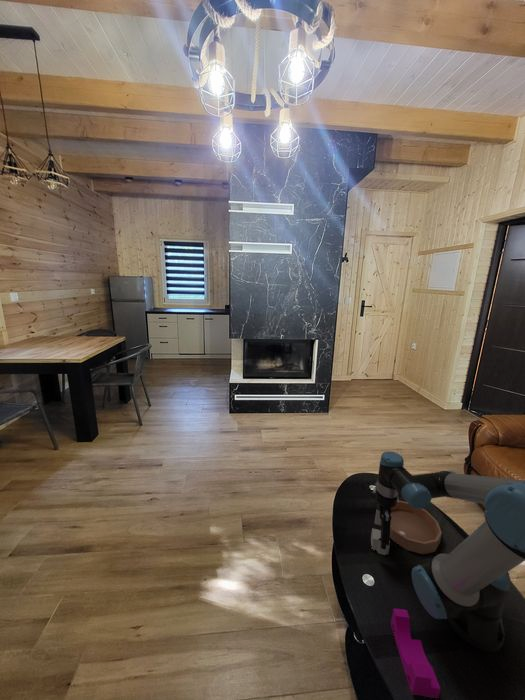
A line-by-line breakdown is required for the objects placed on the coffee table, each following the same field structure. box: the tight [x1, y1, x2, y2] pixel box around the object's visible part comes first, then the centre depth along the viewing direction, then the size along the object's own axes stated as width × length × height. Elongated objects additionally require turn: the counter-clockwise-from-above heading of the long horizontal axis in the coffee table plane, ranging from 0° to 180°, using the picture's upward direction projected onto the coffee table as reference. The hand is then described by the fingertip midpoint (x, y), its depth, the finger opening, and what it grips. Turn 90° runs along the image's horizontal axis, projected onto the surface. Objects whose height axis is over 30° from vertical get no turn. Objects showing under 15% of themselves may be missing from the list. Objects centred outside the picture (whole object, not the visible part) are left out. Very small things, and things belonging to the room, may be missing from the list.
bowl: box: [390, 500, 443, 555], centre depth 119 cm, size 22×22×5 cm
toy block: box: [390, 608, 441, 699], centre depth 76 cm, size 15×6×8 cm, turn 175°
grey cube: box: [370, 527, 391, 555], centre depth 110 cm, size 5×6×6 cm
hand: (379, 538), depth 110 cm, fingers open, 13 cm apart
